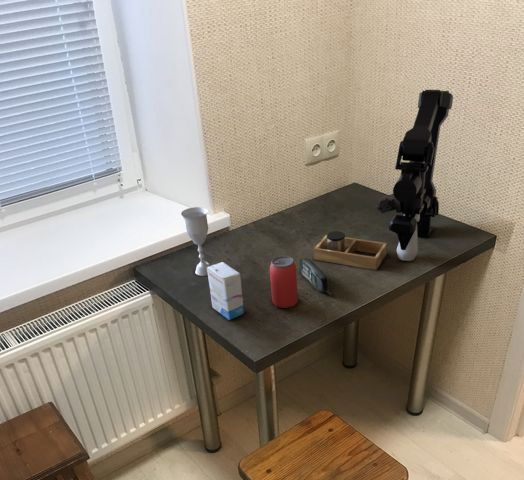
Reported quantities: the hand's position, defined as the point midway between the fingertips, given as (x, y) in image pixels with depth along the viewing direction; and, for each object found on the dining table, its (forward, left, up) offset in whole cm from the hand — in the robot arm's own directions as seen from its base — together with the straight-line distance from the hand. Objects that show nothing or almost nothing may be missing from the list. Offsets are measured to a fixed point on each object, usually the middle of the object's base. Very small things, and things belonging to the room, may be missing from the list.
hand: (407, 242), depth 154 cm
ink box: (+39, -35, -6) cm, 53 cm away
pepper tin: (+3, -20, -6) cm, 21 cm away
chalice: (+24, -52, -6) cm, 58 cm away
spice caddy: (+3, -15, -6) cm, 17 cm away
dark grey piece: (+20, -19, -6) cm, 28 cm away
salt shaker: (0, 0, -5) cm, 5 cm away
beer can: (+31, -23, -6) cm, 39 cm away
